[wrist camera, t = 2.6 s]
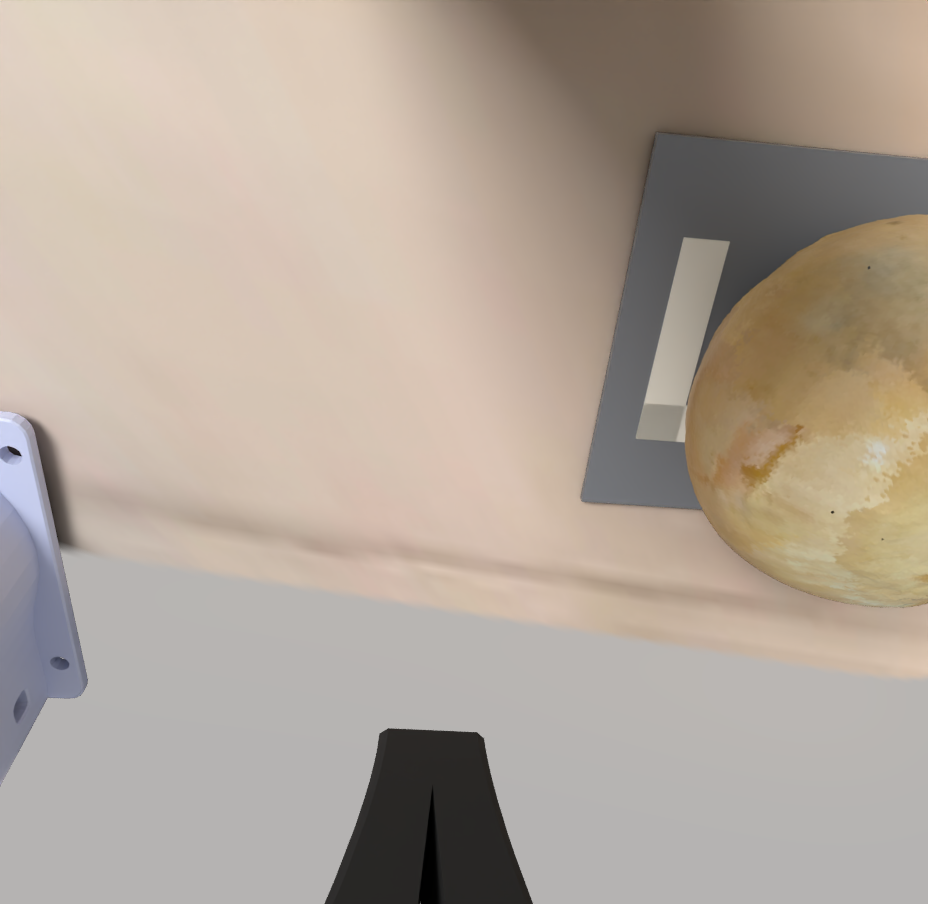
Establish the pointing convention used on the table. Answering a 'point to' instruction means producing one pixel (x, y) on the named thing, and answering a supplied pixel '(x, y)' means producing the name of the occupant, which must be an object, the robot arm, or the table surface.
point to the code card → (715, 282)
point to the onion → (824, 419)
